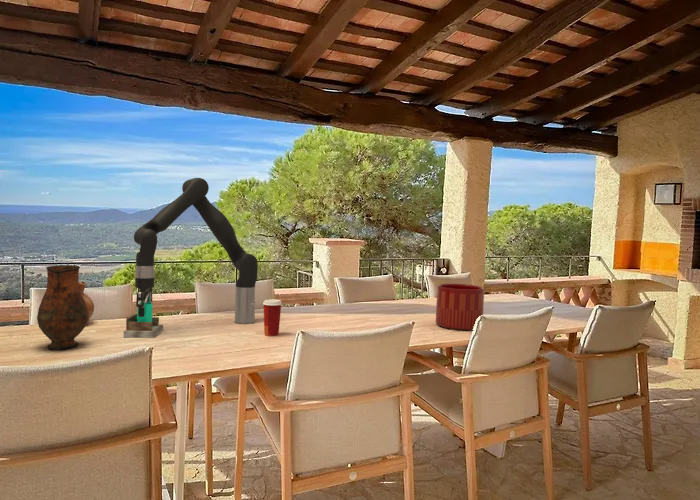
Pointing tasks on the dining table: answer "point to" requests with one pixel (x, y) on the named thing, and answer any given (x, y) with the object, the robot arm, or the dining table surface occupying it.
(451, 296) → the planter
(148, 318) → the candle
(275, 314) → the coffee cup
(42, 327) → the pitcher
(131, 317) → the dock
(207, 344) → the dining table surface
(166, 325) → the dining table surface
